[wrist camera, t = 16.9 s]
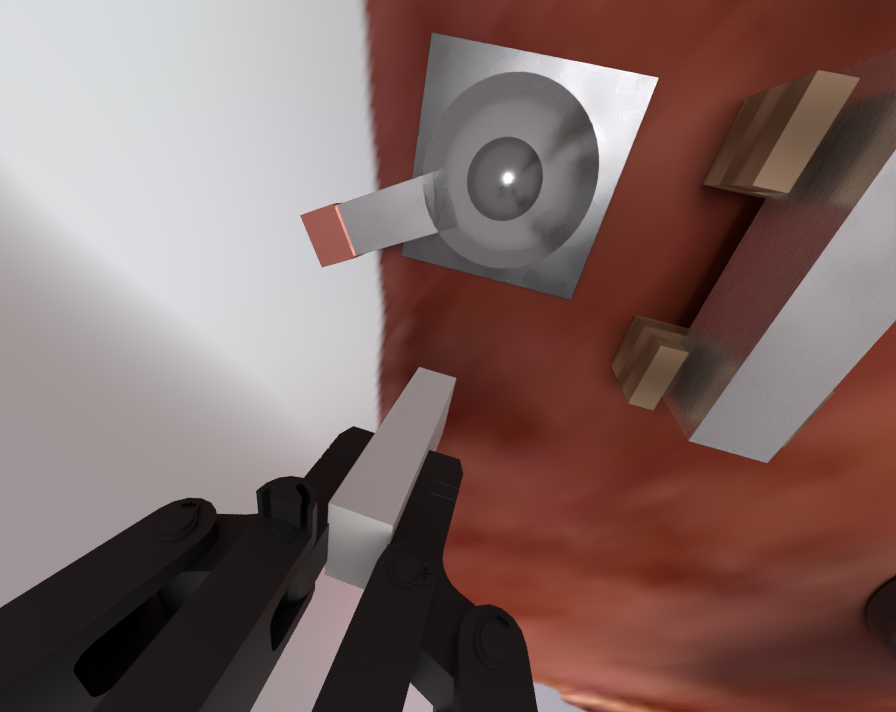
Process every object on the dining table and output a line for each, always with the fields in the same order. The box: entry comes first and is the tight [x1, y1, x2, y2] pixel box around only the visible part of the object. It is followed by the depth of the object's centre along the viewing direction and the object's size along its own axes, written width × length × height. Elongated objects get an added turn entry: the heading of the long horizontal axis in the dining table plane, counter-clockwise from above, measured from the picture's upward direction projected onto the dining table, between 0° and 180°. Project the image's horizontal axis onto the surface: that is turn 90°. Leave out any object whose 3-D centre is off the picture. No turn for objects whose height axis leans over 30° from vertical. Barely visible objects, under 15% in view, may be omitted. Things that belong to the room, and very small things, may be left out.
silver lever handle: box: [301, 72, 599, 268], centre depth 20 cm, size 17×9×5 cm, turn 105°
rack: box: [611, 70, 860, 447], centre depth 19 cm, size 16×9×5 cm, turn 168°
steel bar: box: [662, 48, 896, 463], centre depth 16 cm, size 17×4×6 cm, turn 168°
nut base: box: [402, 33, 658, 300], centre depth 21 cm, size 12×12×1 cm
